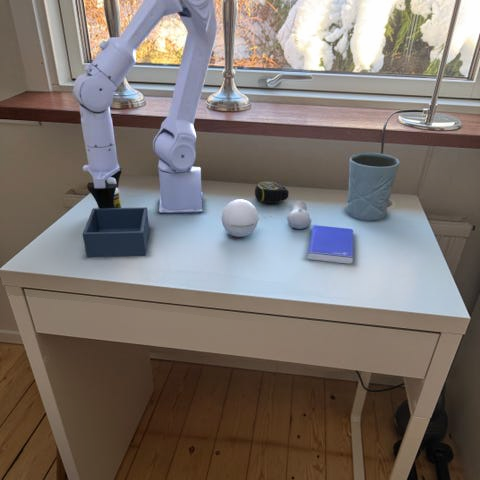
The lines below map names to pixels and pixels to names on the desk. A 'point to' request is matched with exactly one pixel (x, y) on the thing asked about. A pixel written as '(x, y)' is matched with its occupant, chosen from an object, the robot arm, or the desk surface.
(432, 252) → the desk surface
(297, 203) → the pale two-lobed sculpture
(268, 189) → the tape measure
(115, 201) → the supplement bottle
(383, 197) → the embossed planter pot
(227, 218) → the seamed sphere
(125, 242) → the desk bin
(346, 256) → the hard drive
